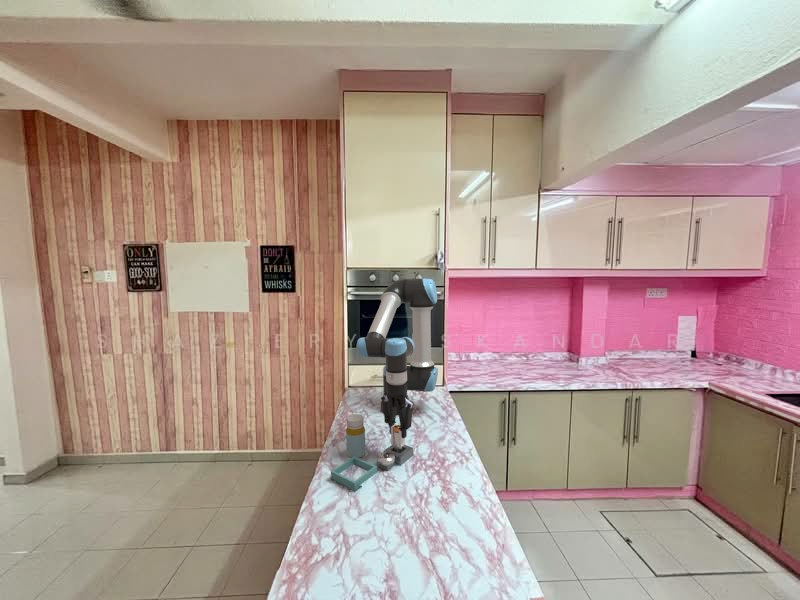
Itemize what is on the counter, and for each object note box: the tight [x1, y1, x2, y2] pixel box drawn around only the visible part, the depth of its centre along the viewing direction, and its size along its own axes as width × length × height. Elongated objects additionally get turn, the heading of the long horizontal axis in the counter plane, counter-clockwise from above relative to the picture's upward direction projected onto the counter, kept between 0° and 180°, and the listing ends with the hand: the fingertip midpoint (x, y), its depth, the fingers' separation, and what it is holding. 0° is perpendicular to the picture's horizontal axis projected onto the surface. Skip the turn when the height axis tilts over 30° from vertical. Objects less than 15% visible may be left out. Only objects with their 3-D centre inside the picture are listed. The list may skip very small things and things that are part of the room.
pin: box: [394, 424, 403, 454], centre depth 125 cm, size 3×3×12 cm
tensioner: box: [377, 444, 414, 472], centre depth 123 cm, size 14×8×5 cm, turn 143°
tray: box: [330, 457, 378, 493], centre depth 116 cm, size 11×11×3 cm
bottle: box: [345, 413, 367, 459], centre depth 128 cm, size 7×7×15 cm
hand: (398, 443), depth 125 cm, fingers closed on pin, 3 cm apart
